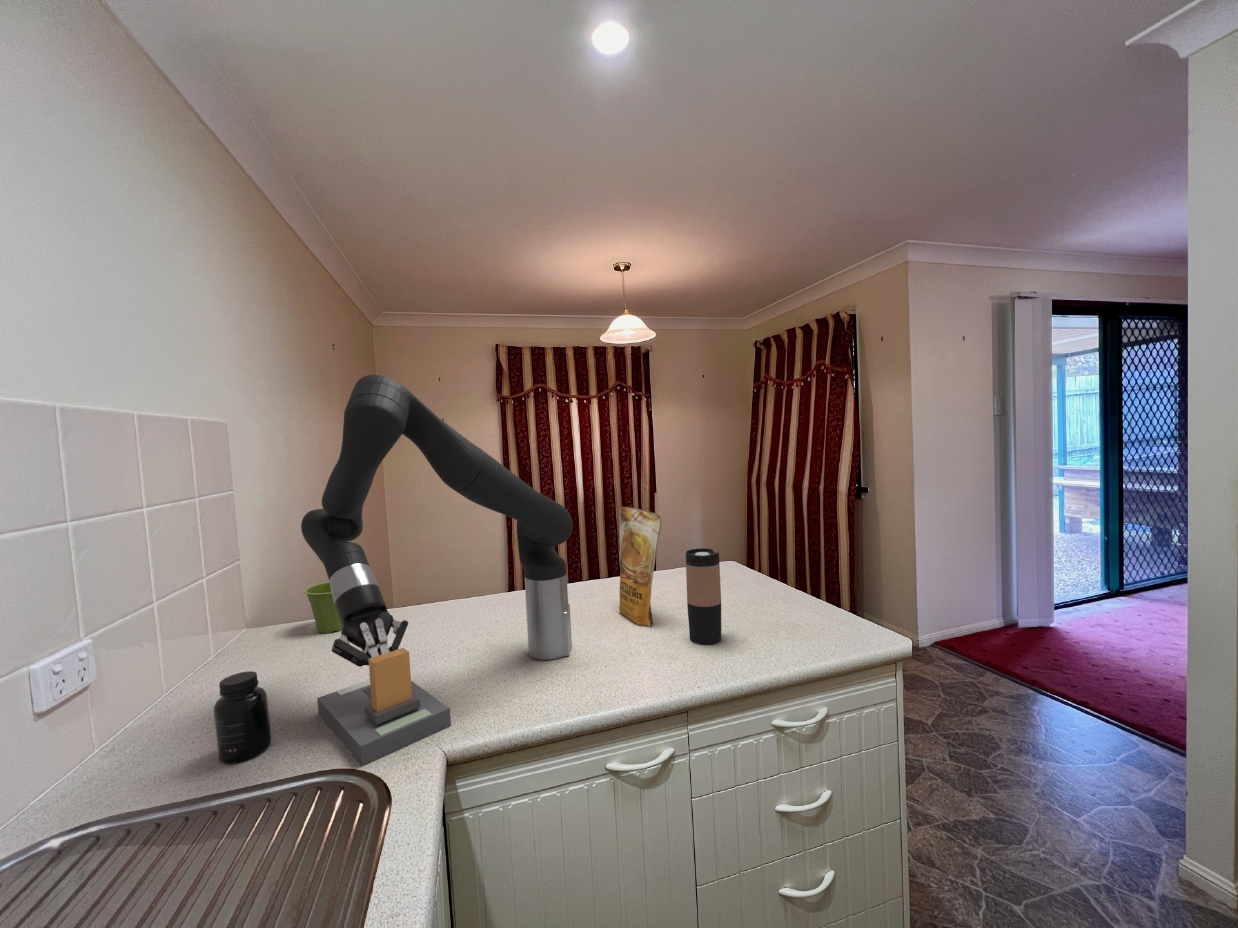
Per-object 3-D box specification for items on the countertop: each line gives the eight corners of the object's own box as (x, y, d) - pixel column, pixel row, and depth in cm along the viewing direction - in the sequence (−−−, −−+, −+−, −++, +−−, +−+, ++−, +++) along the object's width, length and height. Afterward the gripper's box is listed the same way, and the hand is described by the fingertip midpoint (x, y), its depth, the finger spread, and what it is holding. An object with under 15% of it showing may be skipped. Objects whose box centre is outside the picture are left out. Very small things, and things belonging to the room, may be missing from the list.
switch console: (318, 714, 92) (317, 696, 92) (397, 685, 102) (396, 669, 102) (362, 765, 77) (360, 744, 76) (450, 725, 86) (449, 706, 86)
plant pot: (300, 640, 129) (297, 595, 128) (316, 623, 140) (313, 582, 140) (352, 633, 132) (349, 590, 131) (363, 618, 143) (361, 578, 142)
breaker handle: (365, 714, 85) (361, 657, 84) (407, 697, 90) (403, 644, 89) (376, 725, 81) (372, 666, 81) (420, 707, 86) (416, 652, 86)
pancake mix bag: (633, 604, 144) (629, 504, 143) (668, 625, 127) (663, 512, 126) (611, 608, 141) (606, 507, 140) (644, 631, 124) (638, 515, 123)
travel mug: (684, 643, 116) (681, 555, 115) (693, 630, 123) (689, 547, 122) (719, 647, 113) (715, 556, 112) (725, 634, 120) (722, 548, 119)
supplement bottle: (236, 740, 85) (230, 669, 84) (280, 737, 85) (274, 665, 85) (207, 767, 78) (200, 689, 77) (255, 762, 79) (248, 685, 78)
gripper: (319, 592, 88) (348, 685, 80) (398, 575, 97) (431, 657, 89) (313, 615, 92) (340, 706, 84) (389, 597, 101) (420, 677, 93)
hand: (387, 681), depth 87 cm, fingers closed
